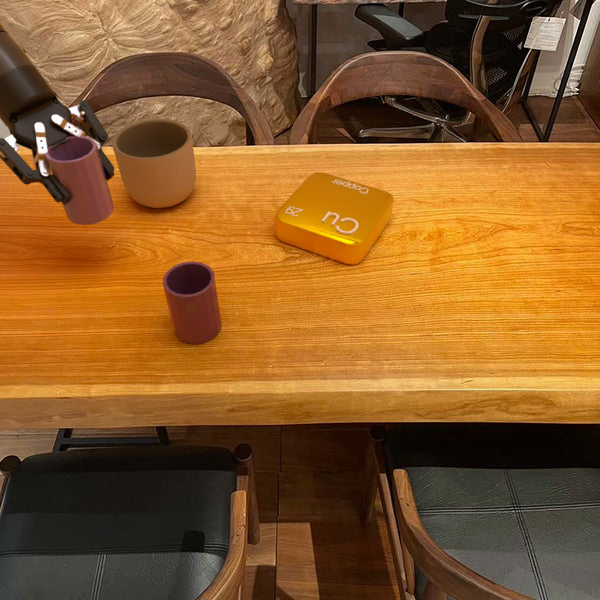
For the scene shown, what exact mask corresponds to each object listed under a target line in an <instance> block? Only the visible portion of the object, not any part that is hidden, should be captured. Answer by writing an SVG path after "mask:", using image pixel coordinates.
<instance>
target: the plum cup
mask: <svg viewBox="0 0 600 600" xmlns="http://www.w3.org/2000/svg"><path fill="white" fill-rule="evenodd" d="M162 286H163V287H162V288H163V292H164V295H165V299H166V303H167V309H168V313H169V317H170V320H171V321H170V322H171V325H172V329H173V332H174V335H175V337H176V338H177V339H178V340H180V341H181V342H183V343H186V344H189V345H201V344H205V343H208V342H210V341H211V340H213V339H215V337H217V336H218V334H219V333H220V331H221V329H222V318H221V311H220V310H221V309H220V304H219V303H220V302H219V297H218V289H217V283H216V276H215V272H214V271H213V269H212V268H211V266H209V265H207V264H205V263H204V262H199V261H184V262H180V263H178V264H174V265H173V266H172V267H170V268H169V269H168V270H167V271H166V273H165V274H164V276H163V277H162Z"/></svg>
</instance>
